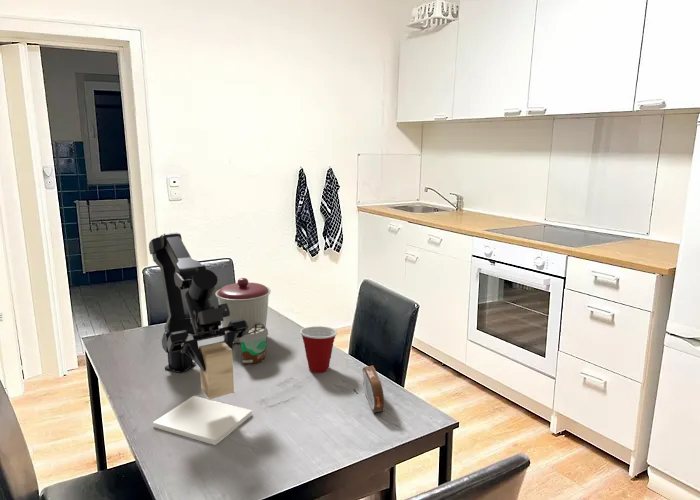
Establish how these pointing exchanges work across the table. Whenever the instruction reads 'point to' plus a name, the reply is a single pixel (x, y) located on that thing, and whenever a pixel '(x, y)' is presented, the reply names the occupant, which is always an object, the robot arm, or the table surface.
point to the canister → (244, 302)
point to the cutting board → (203, 419)
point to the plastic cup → (318, 347)
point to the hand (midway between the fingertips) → (217, 367)
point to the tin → (373, 389)
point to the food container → (254, 344)
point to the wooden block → (217, 370)
